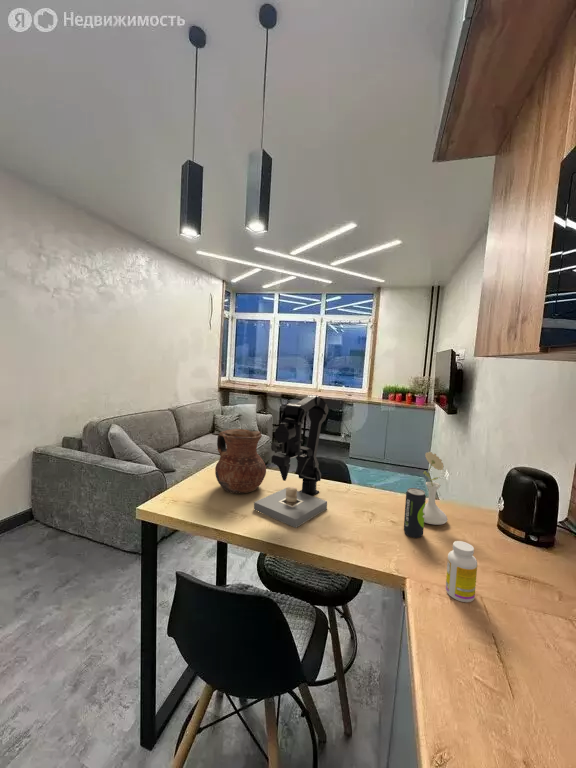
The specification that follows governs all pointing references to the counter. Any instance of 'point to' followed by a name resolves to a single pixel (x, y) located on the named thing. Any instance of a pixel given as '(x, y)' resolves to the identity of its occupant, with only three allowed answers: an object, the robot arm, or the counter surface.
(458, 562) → the supplement bottle
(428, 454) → the flower in vase
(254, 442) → the jug
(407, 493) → the beverage can
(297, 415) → the robot arm
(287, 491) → the birch peg
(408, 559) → the counter surface
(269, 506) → the socket board
